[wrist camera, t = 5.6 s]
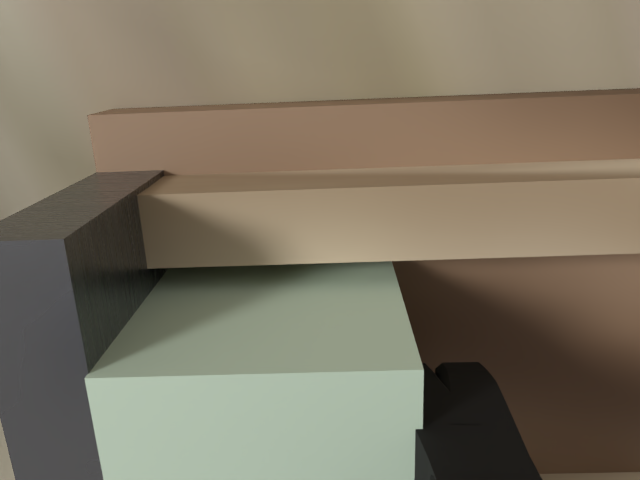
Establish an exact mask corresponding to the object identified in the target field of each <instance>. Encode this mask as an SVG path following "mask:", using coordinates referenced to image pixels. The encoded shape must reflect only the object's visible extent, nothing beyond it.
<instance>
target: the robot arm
mask: <svg viewBox="0 0 640 480" xmlns="http://www.w3.org/2000/svg"><path fill="white" fill-rule="evenodd" d="M422 365H423V368H424V391H423V429H415V480H543V479H542V478H541V476H540V474H539V473H538V471H537V469H536V467H535V465H534V463H533V461H532V459H531V458H530V455H529V453H528V451H527V449H526V446H525V444H524V442H523V440H522V437H521V435H520V433H519V430H518V428H517V426H516V424H515V421H514V419H513V417H512V414H511V412H510V410H509V408H508V405H507V403H506V401H505V399H504V397H503V394H502V392H501V390H500V388H499V386H498V384H497V382H496V380H495V379H494V378H493V376H492V375H491V374H490V373H489V371H488V370H487V369H486V368H485V367H484V366H483V365H481V364H480V363H479V362H445V363H441V364H440V365H439V366H438V367H437V368H435V373H434V372H433V371H432V370H431V369H430V368H429V367H428V366H427V365H426V364H425V363H422Z"/></svg>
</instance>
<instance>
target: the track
mask: <svg viewBox="0 0 640 480" xmlns="http://www.w3.org/2000/svg"><path fill="white" fill-rule="evenodd" d="M87 116H88V122H89V128H90V134H91V141H92V147H93V153H94V159H95V165H96V172H97V173H95V174H93V175H91V176H89V177H87V178H85V179H83V180H81V181H79V182H77V183H75V184H73V185H71V186H69V187H67V188H65V189H63V190H61V191H59V192H57V193H55V194H53V195H51V196H49V197H47V198H45V199H43V200H41V201H39V202H37V203H35V204H33V205H31V206H29V207H27V208H25V209H23V210H21V211H19V212H17V213H15V214H13V215H11V216H9V217H7V218H5V219H3V220H1V221H0V418H1V423H2V427H3V431H4V435H5V439H6V443H7V447H8V451H9V455H10V459H11V463H12V467H13V471H14V475H15V479H16V480H103V474H102V469H101V464H100V459H99V453H98V448H97V443H96V437H95V432H94V427H93V421H92V416H91V411H90V406H89V400H88V395H87V390H86V384H85V379H84V378H85V377H86V376H87V374H89V372H90V371H91V370H92V369H93V367H94V366H95V365H96V363H97V362H98V361H99V359H100V358H101V357H102V355H103V354H104V353H105V351H106V350H107V349H108V347H109V346H110V345H111V344H112V342H113V341H114V340H115V338H116V337H117V336H118V334H119V333H120V332H121V330H122V329H123V328H124V326H125V325H126V324H127V322H128V321H129V320H130V318H131V317H132V316H133V315H134V313H135V312H136V311H137V309H138V308H139V307H140V305H141V304H142V303H143V301H144V300H145V299H146V297H147V296H148V295H149V293H150V292H151V291H152V290H153V288H154V287H155V286H156V284H157V283H158V282H159V280H160V279H161V278H162V276H163V275H164V274H165V272H166V271H167V270H168V268H187V267H220V266H252V265H284V264H316V263H349V262H381V261H392V264H393V267H394V271H395V274H396V277H397V281H398V284H399V287H400V291H401V294H402V298H403V301H404V304H405V308H406V311H407V314H408V318H409V321H410V325H411V328H412V331H413V335H414V338H415V341H416V345H417V348H418V352H419V355H420V358H421V362H422V363H425V364H426V365H427V366H428V367H429V368H430V369H431V370H432V371H433V372H434V373H435V368H437V367H438V366H439V365H440V364H441V363H445V362H479V363H480V364H481V365H483V366H484V367H485V368H486V369H487V370H488V371H489V373H490V374H491V375H492V376H493V378H494V379H495V380H496V382H497V384H498V386H499V388H500V390H501V392H502V394H503V397H504V399H505V401H506V403H507V405H508V408H509V410H510V412H511V414H512V417H513V419H514V421H515V424H516V426H517V428H518V430H519V433H520V435H521V437H522V440H523V442H524V444H525V446H526V449H527V451H528V453H529V455H530V458H531V459H532V461H533V463H534V465H535V467H536V469H537V471H538V473H539V474H540V476H541V478H542V479H543V480H640V88H637V89H612V90H586V91H561V92H535V93H510V94H484V95H459V96H433V97H408V98H382V99H357V100H331V101H306V102H280V103H254V104H229V105H203V106H178V107H152V108H127V109H111V110H107V111H103V112H99V113H95V114H91V115H87Z"/></svg>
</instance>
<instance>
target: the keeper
mask: <svg viewBox="0 0 640 480" xmlns="http://www.w3.org/2000/svg"><path fill="white" fill-rule="evenodd" d="M84 379H85V384H86V390H87V395H88V400H89V406H90V411H91V416H92V421H93V427H94V432H95V437H96V443H97V448H98V453H99V459H100V464H101V469H102V474H103V480H415V429H423V391H424V368H423V365H422V362H421V358H420V355H419V352H418V348H417V345H416V341H415V338H414V335H413V331H412V328H411V325H410V321H409V318H408V314H407V311H406V308H405V304H404V301H403V298H402V294H401V291H400V287H399V284H398V281H397V277H396V274H395V271H394V267H393V264H392V261H381V262H349V263H316V264H284V265H252V266H220V267H187V268H168V270H167V271H166V272H165V274H164V275H163V276H162V278H161V279H160V280H159V282H158V283H157V284H156V286H155V287H154V288H153V290H152V291H151V292H150V293H149V295H148V296H147V297H146V299H145V300H144V301H143V303H142V304H141V305H140V307H139V308H138V309H137V311H136V312H135V313H134V315H133V316H132V317H131V318H130V320H129V321H128V322H127V324H126V325H125V326H124V328H123V329H122V330H121V332H120V333H119V334H118V336H117V337H116V338H115V340H114V341H113V342H112V344H111V345H110V346H109V347H108V349H107V350H106V351H105V353H104V354H103V355H102V357H101V358H100V359H99V361H98V362H97V363H96V365H95V366H94V367H93V369H92V370H91V371H90V372H89V374H87V376H86V377H85V378H84Z"/></svg>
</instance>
